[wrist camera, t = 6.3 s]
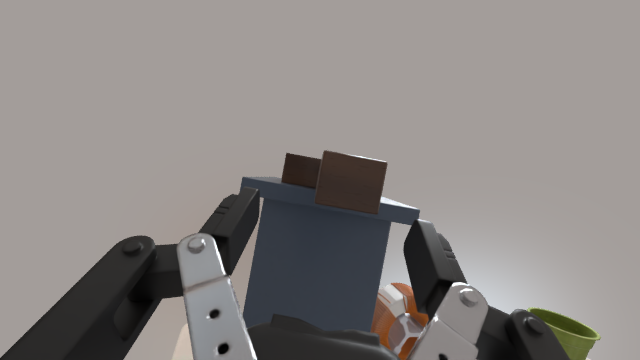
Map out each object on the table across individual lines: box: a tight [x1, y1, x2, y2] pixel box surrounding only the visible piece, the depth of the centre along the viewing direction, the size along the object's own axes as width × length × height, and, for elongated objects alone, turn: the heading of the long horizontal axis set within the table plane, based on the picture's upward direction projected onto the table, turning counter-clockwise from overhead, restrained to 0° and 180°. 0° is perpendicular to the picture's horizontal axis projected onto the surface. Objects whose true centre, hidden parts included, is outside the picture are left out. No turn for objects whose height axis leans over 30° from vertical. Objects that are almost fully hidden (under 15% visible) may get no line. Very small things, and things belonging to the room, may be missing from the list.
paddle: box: [281, 150, 387, 215], centre depth 23 cm, size 24×10×3 cm, turn 1°
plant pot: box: [527, 307, 601, 360], centre depth 56 cm, size 12×12×11 cm
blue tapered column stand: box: [240, 177, 420, 332], centre depth 29 cm, size 14×16×32 cm
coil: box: [371, 283, 429, 360], centre depth 49 cm, size 7×15×15 cm, turn 106°
